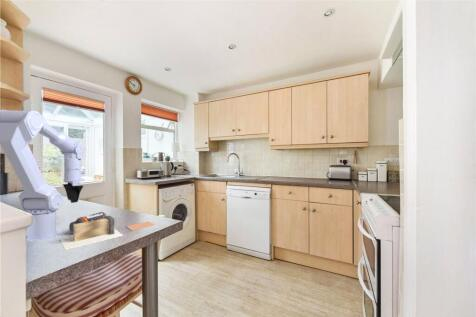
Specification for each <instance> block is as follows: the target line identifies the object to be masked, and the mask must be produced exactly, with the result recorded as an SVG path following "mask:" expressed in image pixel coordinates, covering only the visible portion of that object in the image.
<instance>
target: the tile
mask: <svg viewBox="0 0 476 317" xmlns="http://www.w3.org/2000/svg"><path fill="white" fill-rule="evenodd" d="M152 226H155V224H154V223H153V222H151V221H145V222H139V223H136V224H129V225H127V226H125V227H126V228H127V229H128V230H130V231H133V232H134V231H136V230H141V229H145V228H148V227H152Z"/></svg>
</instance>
